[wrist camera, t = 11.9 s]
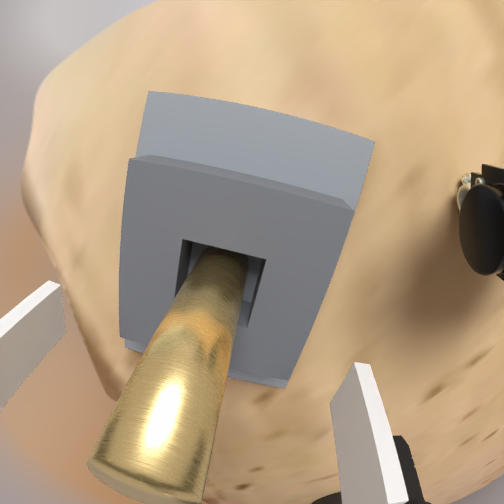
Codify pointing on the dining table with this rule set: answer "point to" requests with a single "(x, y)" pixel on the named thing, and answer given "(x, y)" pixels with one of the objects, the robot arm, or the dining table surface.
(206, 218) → the grey socket base
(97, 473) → the brass pin
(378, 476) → the robot arm
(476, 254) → the pneumatic valve
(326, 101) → the dining table surface
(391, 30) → the dining table surface
